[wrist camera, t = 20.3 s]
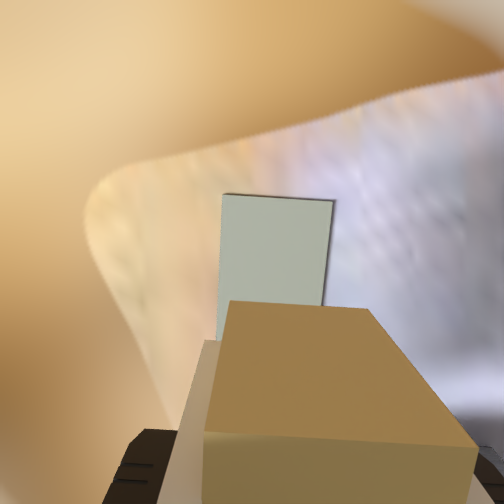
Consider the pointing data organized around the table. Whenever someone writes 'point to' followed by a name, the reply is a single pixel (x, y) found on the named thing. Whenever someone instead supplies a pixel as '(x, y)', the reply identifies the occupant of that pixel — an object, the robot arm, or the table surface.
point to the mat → (271, 251)
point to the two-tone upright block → (326, 415)
